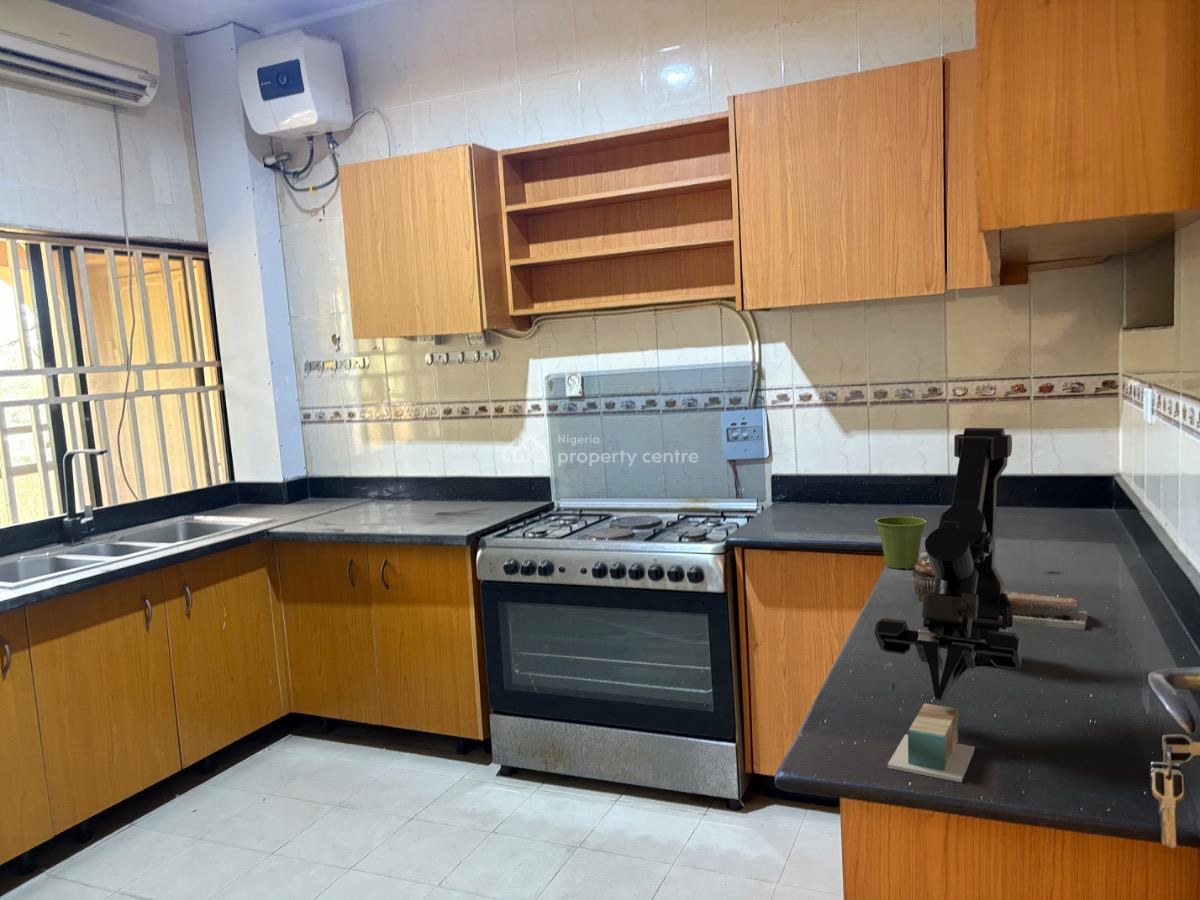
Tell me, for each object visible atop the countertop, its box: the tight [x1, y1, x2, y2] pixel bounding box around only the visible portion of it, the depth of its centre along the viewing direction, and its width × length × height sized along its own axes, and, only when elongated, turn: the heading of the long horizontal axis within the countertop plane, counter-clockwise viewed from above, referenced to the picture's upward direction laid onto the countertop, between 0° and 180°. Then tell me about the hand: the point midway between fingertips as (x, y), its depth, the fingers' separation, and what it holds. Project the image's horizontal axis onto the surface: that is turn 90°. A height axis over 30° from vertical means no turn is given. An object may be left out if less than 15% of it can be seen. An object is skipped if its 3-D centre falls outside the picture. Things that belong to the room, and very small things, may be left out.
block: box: [907, 703, 959, 770], centre depth 119 cm, size 4×4×10 cm
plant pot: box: [874, 516, 927, 570], centre depth 217 cm, size 12×12×11 cm
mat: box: [887, 733, 976, 783], centre depth 118 cm, size 10×9×1 cm
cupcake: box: [911, 550, 935, 603], centre depth 189 cm, size 10×10×10 cm
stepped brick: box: [1000, 590, 1088, 631], centre depth 174 cm, size 18×5×10 cm
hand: (938, 699), depth 121 cm, fingers closed
